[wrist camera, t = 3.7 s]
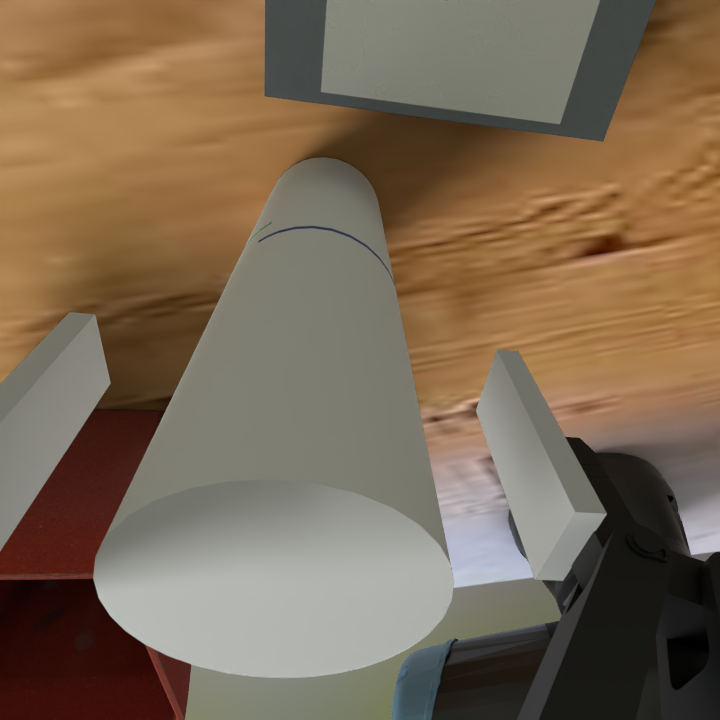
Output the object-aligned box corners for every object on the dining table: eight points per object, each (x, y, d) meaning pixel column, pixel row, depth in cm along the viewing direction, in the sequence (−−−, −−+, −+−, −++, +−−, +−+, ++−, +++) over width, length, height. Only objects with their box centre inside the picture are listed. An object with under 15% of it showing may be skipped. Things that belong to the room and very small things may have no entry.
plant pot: (207, 378, 37) (125, 580, 23) (232, 529, 48) (186, 730, 34) (-45, 372, 36) (-287, 579, 22) (38, 527, 47) (-92, 733, 33)
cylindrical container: (393, 249, 32) (482, 646, 11) (294, 281, 33) (207, 697, 12) (359, 139, 28) (399, 434, 7) (249, 180, 29) (6, 535, 8)
